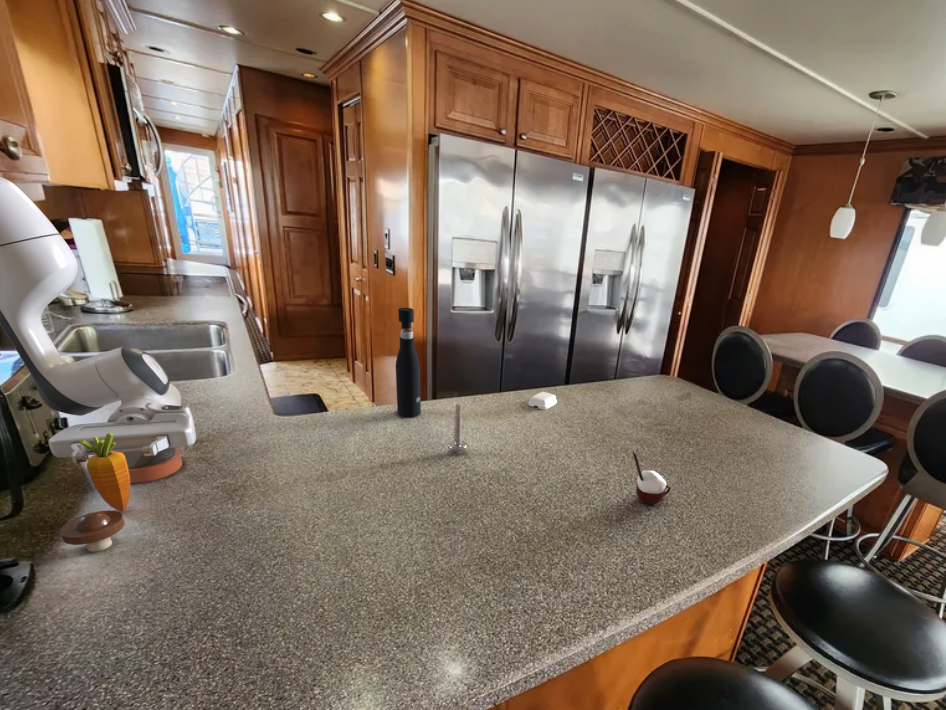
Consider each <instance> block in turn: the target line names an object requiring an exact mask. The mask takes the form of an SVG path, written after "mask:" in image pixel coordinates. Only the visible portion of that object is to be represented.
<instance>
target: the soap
mask: <svg viewBox="0 0 946 710" xmlns="http://www.w3.org/2000/svg"><path fill="white" fill-rule="evenodd" d="M557 402H558V399H557V396H556V395H555V394H553V393H550V392H546V391H540V392H538V393H537V394H535V395H533V396H531V397H530V398H529V401H528V406H529V407H537V408H538V409H540V410H547V409H550V408H552V407H553V406H555V405H556V404H557Z"/></svg>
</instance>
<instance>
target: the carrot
mask: <svg viewBox="0 0 946 710" xmlns="http://www.w3.org/2000/svg"><path fill="white" fill-rule="evenodd" d="M113 436H114V435H113V434H112V433H107V434H106V437H105V441H104V440H98V438H97V437H94V438H93V441H94V443H95V446H96V448H97V449H96V448H95V447H94V446H93V445H92V444H90V443H89V442H87V441H85V440H81V441H80V444H82V445H84V446H85V447H87V448H88V449H89V450H91V451H92V452H93V453H95V454H96V455H90V456H89V459H88V460H87V461H86V468H87V472H88V474H89V477H90V479H91V481H92V483H93V486H94V489H95V490H96V491H97V493H98V494H99V495H100V497H101V498H102V500H103V501H104V502H105V503H106V504H107V505H108V506H110V508H112V509H114V510H115V511H118V512H120V513H123V512H124V511H125V510H127V507H128V504H129V501H130V497H131V483H130V475H129V470H128V466H127V462H126V458H125V455H124V454H123V453H121V452H115V451H111V449H112V448H113V447H114V446H115V444H116V443H115V442H114V443H112V440H113Z"/></svg>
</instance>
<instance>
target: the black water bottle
mask: <svg viewBox="0 0 946 710" xmlns="http://www.w3.org/2000/svg"><path fill="white" fill-rule="evenodd" d="M397 311H398V313H397V314H398V322H399V323H401V330H400V331H399V334H400V335H399V336H400V337H399V349H398V352H397V354H396V360H395V384H396V409H397V410H396V411H397V412H396V413H397V415H398V416H399V417H402V418H407V419H409V418H416V417H418V416H420V415H421V414H422V406H421V405H422V402H421V401H422V400H421V399H422V398H421V364H420V360H419V356H418V353H417V351H416V348H415V337H414V331H413V330H412V329H413V328H412V323H414V322H415V313H414V311H415V310H414V308H410V307H399V308H398V310H397Z"/></svg>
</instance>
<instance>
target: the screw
mask: <svg viewBox="0 0 946 710" xmlns="http://www.w3.org/2000/svg"><path fill="white" fill-rule="evenodd" d="M453 418H454V419H453V424H454V425H453V429H454V430H453V439H452V440H451V441H449V442H447V448H448V449H450V450H452V454H453V455H457V456H459V455H463V454H464V450H466V449H467V448H468V445H469V444H468V443H467V442H466V441H465V440H462V439H463V437H462V432H463V431H462V430H463V429H462V428H463V424H462V423H463V422H462V421H463V415H462V406H461V404H459V403H456V404H455V412H454V416H453Z"/></svg>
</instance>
